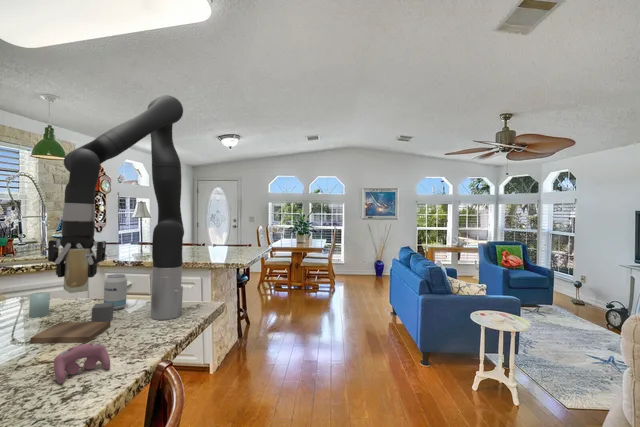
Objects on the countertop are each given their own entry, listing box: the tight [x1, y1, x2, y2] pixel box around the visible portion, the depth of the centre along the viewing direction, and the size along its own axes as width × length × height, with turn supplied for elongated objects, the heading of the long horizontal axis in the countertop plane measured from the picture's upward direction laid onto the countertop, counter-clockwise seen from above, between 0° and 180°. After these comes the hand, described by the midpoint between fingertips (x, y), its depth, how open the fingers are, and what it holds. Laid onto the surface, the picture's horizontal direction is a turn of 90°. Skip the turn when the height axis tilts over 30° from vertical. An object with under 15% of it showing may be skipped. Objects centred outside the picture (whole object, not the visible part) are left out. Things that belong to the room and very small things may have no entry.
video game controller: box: [53, 342, 111, 385], centre depth 71 cm, size 10×5×7 cm, turn 141°
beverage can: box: [103, 273, 128, 311], centre depth 116 cm, size 7×7×12 cm
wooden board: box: [29, 321, 112, 344], centre depth 91 cm, size 14×12×2 cm
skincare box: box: [63, 248, 90, 294], centre depth 91 cm, size 6×4×12 cm
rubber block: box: [91, 302, 114, 322], centre depth 103 cm, size 5×5×5 cm
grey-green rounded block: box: [28, 291, 51, 319], centre depth 106 cm, size 5×5×7 cm
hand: (76, 276), depth 91 cm, fingers closed on skincare box, 7 cm apart
